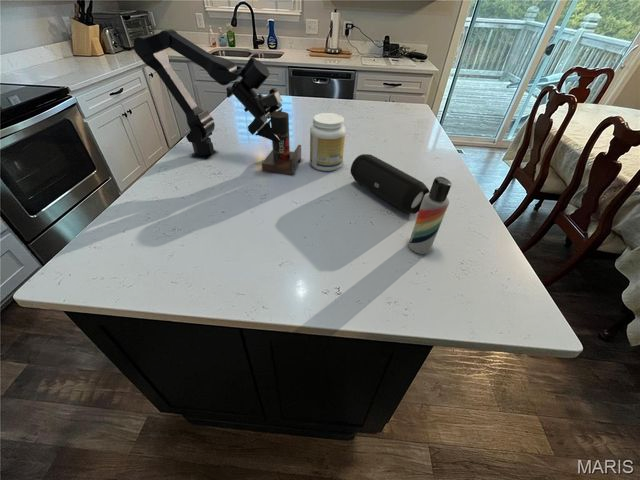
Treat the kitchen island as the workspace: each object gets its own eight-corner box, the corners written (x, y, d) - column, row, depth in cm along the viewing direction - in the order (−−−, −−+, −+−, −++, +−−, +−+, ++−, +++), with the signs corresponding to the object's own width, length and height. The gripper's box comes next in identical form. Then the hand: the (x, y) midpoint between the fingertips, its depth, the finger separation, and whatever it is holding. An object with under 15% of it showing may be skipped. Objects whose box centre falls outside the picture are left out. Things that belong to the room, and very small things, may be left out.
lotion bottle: (405, 240, 79) (426, 173, 66) (425, 239, 79) (450, 173, 66) (412, 255, 75) (435, 186, 61) (433, 254, 75) (461, 186, 62)
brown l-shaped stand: (262, 171, 104) (260, 155, 100) (273, 156, 113) (272, 141, 109) (292, 175, 102) (291, 159, 98) (301, 160, 111) (301, 145, 107)
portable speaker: (347, 183, 100) (350, 155, 93) (368, 175, 105) (372, 148, 98) (404, 221, 85) (413, 191, 79) (426, 210, 90) (435, 181, 83)
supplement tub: (349, 164, 110) (354, 118, 99) (327, 176, 103) (330, 127, 92) (325, 154, 116) (327, 109, 105) (302, 163, 109) (302, 117, 98)
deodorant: (285, 152, 109) (284, 110, 99) (292, 159, 105) (291, 116, 95) (270, 155, 106) (267, 112, 96) (277, 162, 102) (274, 118, 92)
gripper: (253, 89, 83) (291, 132, 89) (274, 74, 97) (307, 112, 103) (231, 114, 89) (268, 153, 95) (254, 97, 103) (286, 132, 109)
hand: (283, 136), depth 100 cm, fingers open, 9 cm apart
